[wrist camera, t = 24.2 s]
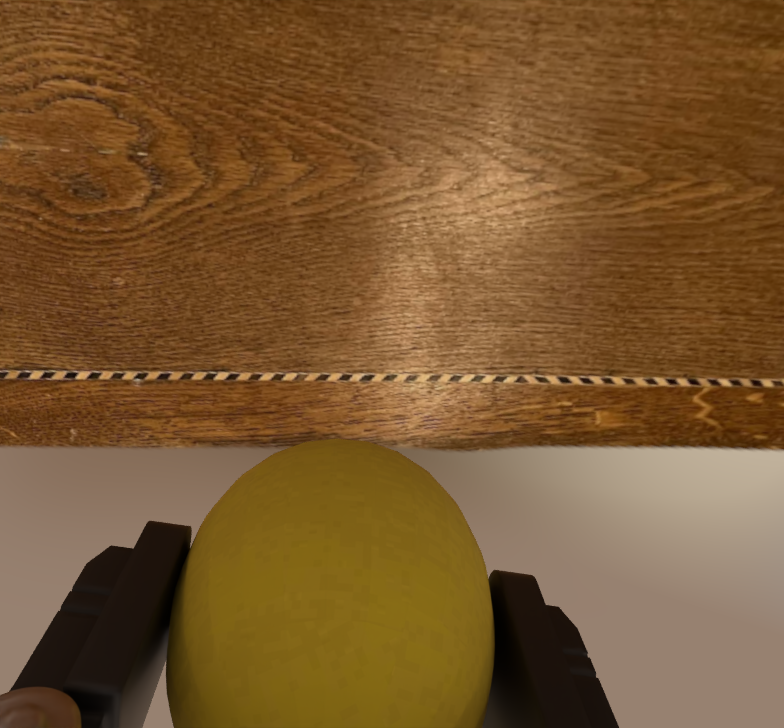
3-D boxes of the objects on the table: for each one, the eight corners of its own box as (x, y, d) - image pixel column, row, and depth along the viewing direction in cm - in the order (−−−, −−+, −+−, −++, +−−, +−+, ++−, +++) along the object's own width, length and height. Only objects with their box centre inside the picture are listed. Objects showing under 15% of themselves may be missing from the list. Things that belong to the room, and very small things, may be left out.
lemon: (274, 604, 16) (203, 1016, 9) (183, 419, 14) (-4, 751, 7) (483, 544, 16) (590, 922, 9) (420, 346, 14) (491, 614, 7)
